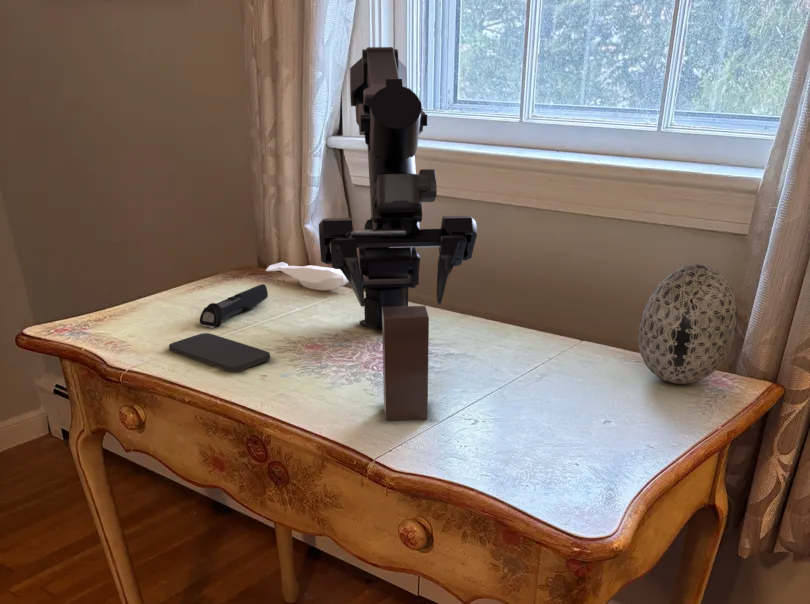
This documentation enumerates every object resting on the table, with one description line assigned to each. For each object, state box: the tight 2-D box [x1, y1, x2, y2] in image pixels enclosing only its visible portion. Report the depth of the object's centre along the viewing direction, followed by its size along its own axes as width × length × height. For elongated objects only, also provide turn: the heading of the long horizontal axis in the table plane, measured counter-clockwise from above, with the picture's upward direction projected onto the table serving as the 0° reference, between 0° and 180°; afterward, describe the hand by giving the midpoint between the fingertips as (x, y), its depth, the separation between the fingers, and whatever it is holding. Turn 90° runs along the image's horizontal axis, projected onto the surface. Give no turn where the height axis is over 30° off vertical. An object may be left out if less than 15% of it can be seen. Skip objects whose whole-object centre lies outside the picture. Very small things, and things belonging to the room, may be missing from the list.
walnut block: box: [382, 305, 430, 422], centre depth 93 cm, size 4×5×12 cm
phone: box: [168, 332, 271, 373], centre depth 113 cm, size 7×1×15 cm
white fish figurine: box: [265, 261, 349, 291], centre depth 141 cm, size 6×18×4 cm, turn 52°
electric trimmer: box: [199, 283, 269, 329], centre depth 128 cm, size 4×16×3 cm, turn 153°
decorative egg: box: [637, 263, 738, 385], centre depth 100 cm, size 12×12×15 cm
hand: (401, 303), depth 94 cm, fingers open, 9 cm apart
